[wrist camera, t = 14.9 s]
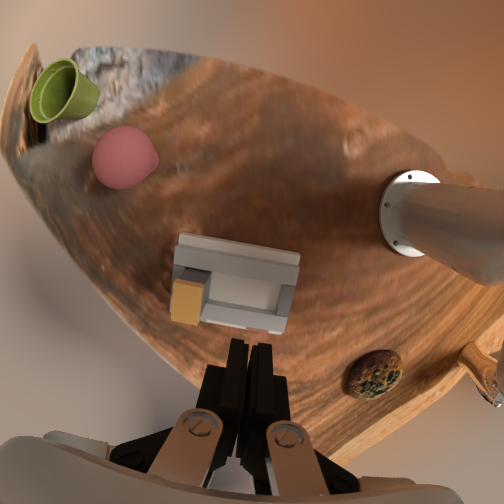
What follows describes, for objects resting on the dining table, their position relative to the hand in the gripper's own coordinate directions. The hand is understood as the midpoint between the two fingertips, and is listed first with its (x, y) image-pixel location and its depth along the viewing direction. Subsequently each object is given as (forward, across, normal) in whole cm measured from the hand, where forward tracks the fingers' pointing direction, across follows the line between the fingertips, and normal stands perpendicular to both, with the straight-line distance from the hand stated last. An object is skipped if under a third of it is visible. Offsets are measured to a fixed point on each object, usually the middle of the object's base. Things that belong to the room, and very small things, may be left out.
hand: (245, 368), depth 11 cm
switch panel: (+27, +2, +7) cm, 28 cm away
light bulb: (+27, +16, -8) cm, 33 cm away
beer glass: (+27, -48, +15) cm, 57 cm away
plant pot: (+27, +30, -17) cm, 44 cm away
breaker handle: (+25, +7, +7) cm, 27 cm away
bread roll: (+28, -25, +20) cm, 42 cm away
